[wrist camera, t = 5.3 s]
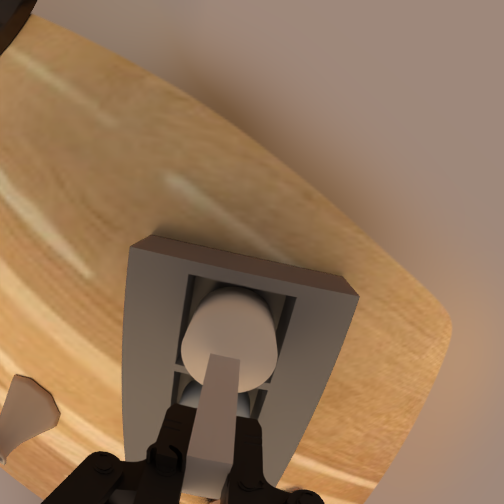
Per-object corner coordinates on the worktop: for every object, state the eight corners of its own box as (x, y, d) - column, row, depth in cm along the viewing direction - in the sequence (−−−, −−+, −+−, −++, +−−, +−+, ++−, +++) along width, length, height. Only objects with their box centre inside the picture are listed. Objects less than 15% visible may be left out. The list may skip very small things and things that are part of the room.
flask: (57, 391, 25) (10, 450, 15) (64, 432, 27) (28, 488, 17) (9, 364, 25) (-42, 411, 15) (18, 407, 26) (-21, 454, 17)
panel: (150, 234, 21) (129, 246, 17) (342, 276, 22) (359, 296, 18) (136, 441, 26) (126, 468, 22) (268, 468, 27) (269, 497, 23)
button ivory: (200, 278, 19) (187, 302, 15) (282, 296, 19) (288, 323, 16) (189, 348, 20) (176, 382, 16) (263, 363, 21) (264, 399, 17)
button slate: (186, 368, 21) (173, 403, 17) (257, 383, 21) (257, 420, 17) (179, 417, 22) (169, 452, 18) (242, 430, 22) (240, 466, 18)
